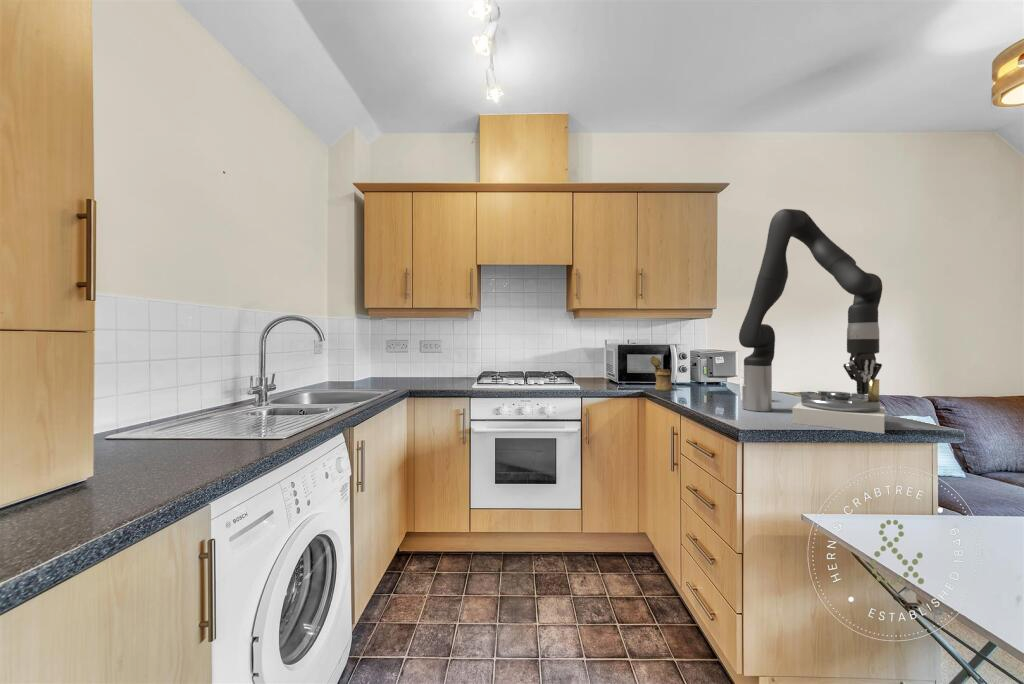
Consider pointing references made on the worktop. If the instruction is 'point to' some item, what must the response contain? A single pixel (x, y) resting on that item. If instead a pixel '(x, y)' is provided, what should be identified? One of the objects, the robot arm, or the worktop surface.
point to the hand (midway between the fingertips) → (862, 394)
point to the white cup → (741, 385)
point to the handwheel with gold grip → (845, 400)
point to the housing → (840, 418)
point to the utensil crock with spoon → (661, 376)
